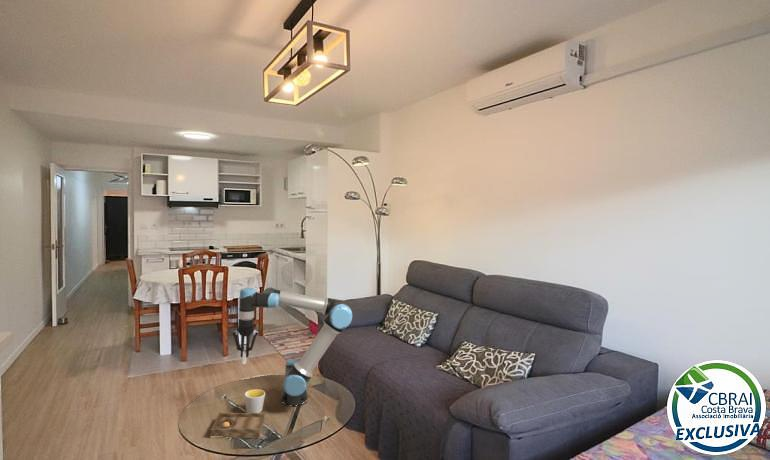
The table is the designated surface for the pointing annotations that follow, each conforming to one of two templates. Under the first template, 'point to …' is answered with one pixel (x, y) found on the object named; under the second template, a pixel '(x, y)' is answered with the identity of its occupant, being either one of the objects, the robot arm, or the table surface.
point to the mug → (254, 400)
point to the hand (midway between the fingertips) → (244, 363)
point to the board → (238, 425)
